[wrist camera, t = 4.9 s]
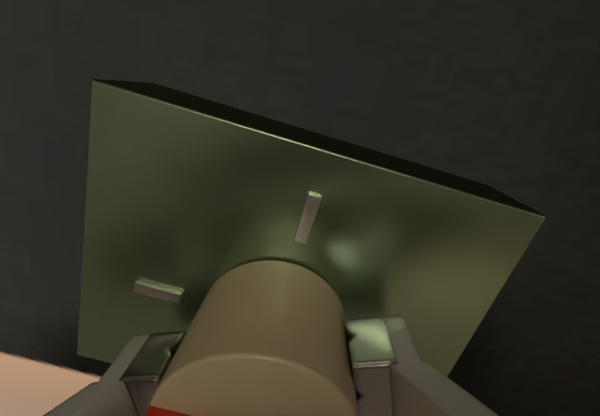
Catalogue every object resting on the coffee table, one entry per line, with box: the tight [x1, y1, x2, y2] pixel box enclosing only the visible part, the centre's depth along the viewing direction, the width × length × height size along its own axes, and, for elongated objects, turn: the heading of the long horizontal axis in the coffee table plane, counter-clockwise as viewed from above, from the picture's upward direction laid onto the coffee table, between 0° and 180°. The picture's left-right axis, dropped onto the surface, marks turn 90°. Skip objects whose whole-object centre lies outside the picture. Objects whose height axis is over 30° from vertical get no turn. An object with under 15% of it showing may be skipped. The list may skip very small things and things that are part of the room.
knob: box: [145, 260, 359, 416], centre depth 8 cm, size 4×4×4 cm
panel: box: [77, 79, 545, 377], centre depth 11 cm, size 12×10×3 cm
